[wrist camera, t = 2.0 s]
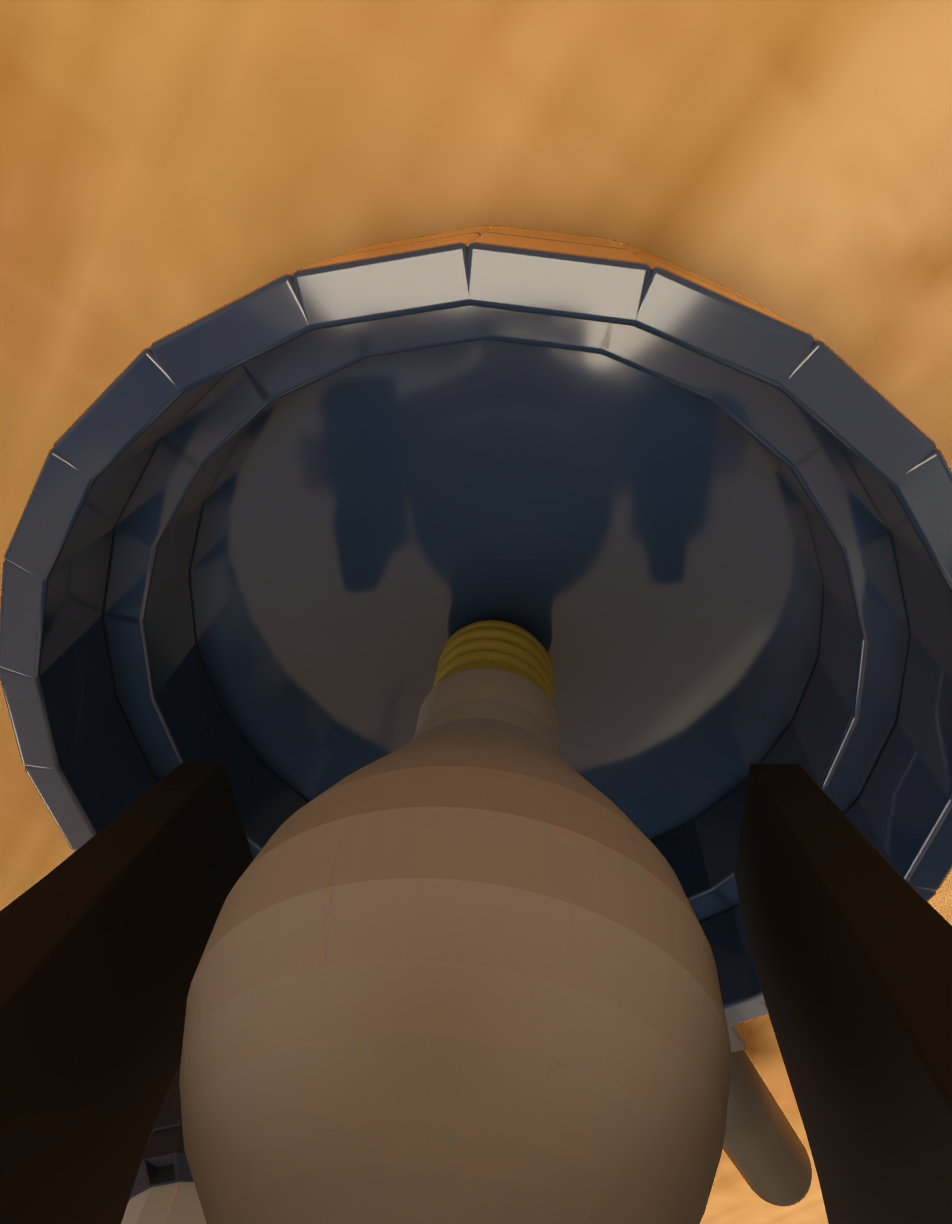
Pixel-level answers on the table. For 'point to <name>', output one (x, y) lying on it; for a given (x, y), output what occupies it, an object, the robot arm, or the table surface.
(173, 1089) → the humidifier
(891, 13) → the table surface
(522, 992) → the light bulb
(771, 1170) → the pan handle
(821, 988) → the robot arm
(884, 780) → the pan
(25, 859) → the table surface
